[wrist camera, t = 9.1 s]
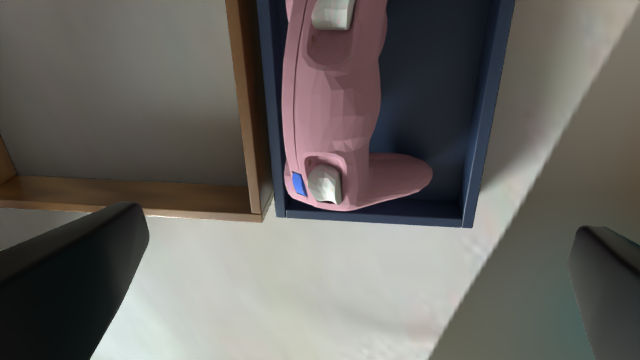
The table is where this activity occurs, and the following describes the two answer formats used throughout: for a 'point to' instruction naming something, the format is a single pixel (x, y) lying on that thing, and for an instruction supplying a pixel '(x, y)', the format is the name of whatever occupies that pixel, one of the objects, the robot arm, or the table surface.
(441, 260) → the table surface
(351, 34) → the video game controller
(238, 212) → the wooden box
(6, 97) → the table surface
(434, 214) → the tray
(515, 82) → the table surface
